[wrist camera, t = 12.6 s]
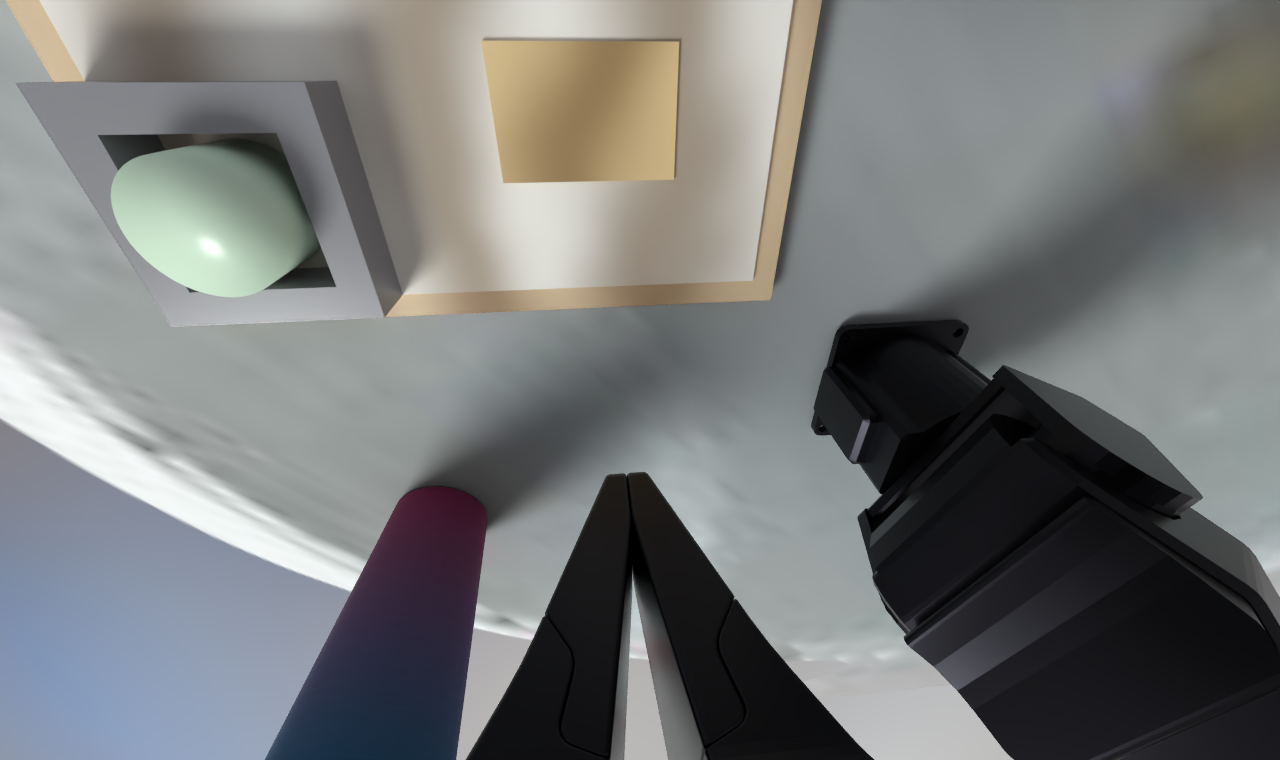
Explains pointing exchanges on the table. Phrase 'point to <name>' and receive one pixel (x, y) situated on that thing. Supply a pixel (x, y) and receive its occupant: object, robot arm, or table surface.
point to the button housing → (296, 110)
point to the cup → (398, 642)
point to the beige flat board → (512, 130)
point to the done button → (215, 215)
